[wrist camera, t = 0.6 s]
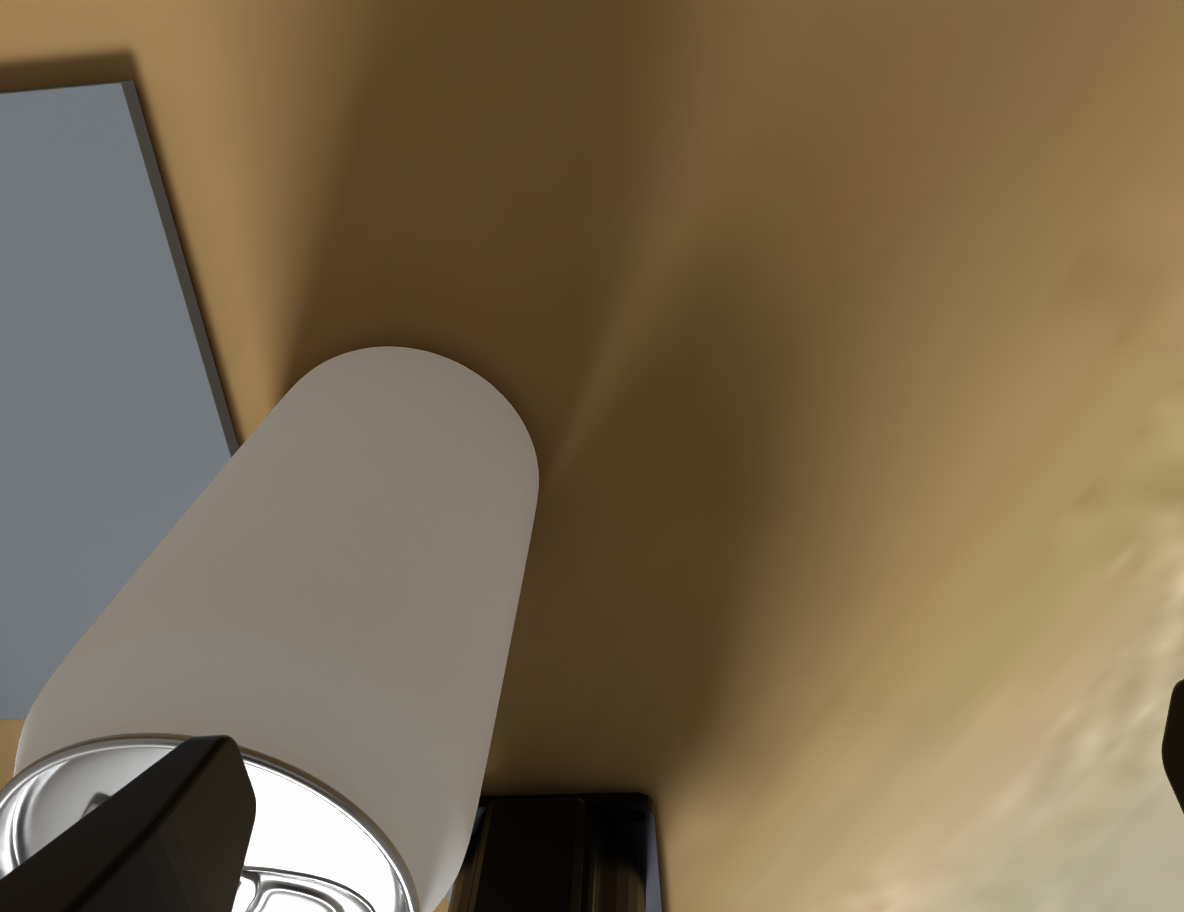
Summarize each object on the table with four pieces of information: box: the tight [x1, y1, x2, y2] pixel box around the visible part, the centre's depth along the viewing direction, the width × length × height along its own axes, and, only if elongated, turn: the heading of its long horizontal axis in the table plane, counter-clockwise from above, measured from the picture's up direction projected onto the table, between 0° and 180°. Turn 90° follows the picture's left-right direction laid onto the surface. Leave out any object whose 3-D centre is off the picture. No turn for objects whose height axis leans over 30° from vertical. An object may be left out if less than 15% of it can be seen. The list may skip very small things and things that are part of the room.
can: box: [0, 346, 539, 912], centre depth 17 cm, size 6×6×12 cm
